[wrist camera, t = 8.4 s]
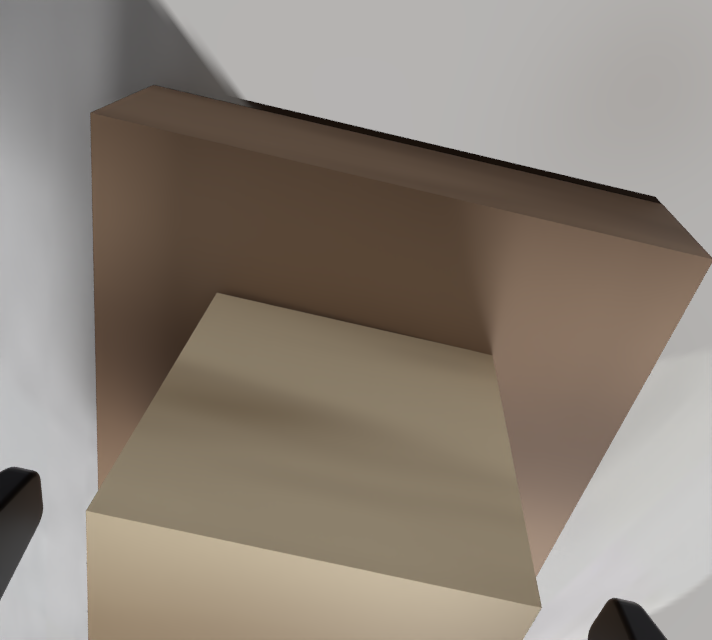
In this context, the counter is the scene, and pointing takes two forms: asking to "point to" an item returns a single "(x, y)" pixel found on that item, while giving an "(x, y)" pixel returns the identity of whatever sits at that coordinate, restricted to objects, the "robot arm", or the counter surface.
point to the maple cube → (313, 492)
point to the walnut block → (383, 267)
